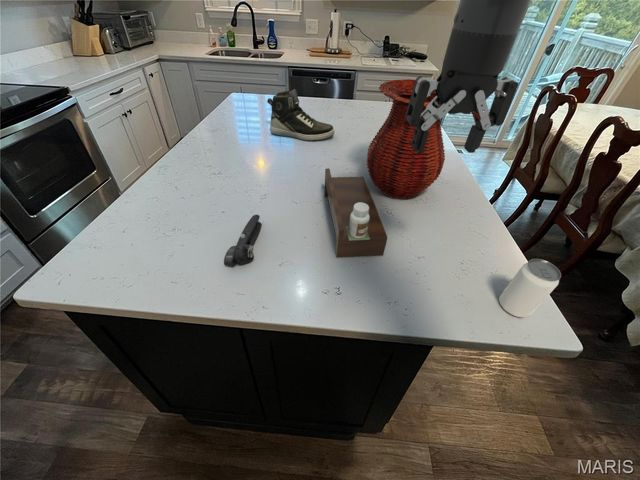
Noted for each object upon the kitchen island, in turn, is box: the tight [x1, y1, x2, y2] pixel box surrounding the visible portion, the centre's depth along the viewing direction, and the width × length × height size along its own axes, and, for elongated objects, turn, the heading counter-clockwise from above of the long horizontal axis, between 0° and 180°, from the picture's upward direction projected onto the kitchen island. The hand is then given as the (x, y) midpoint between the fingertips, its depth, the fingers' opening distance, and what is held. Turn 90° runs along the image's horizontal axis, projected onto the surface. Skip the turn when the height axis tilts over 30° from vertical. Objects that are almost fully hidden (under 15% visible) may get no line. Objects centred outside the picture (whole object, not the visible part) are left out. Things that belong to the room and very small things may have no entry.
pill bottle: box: [348, 202, 370, 238], centre depth 68 cm, size 4×4×8 cm
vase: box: [366, 78, 446, 199], centre depth 88 cm, size 23×24×30 cm
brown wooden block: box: [323, 168, 388, 259], centre depth 81 cm, size 28×12×9 cm, turn 6°
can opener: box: [223, 214, 263, 267], centre depth 74 cm, size 18×7×6 cm, turn 170°
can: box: [498, 258, 562, 318], centre depth 60 cm, size 6×6×12 cm
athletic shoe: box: [266, 88, 335, 142], centre depth 120 cm, size 10×28×18 cm, turn 78°
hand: (443, 151), depth 47 cm, fingers open, 8 cm apart
